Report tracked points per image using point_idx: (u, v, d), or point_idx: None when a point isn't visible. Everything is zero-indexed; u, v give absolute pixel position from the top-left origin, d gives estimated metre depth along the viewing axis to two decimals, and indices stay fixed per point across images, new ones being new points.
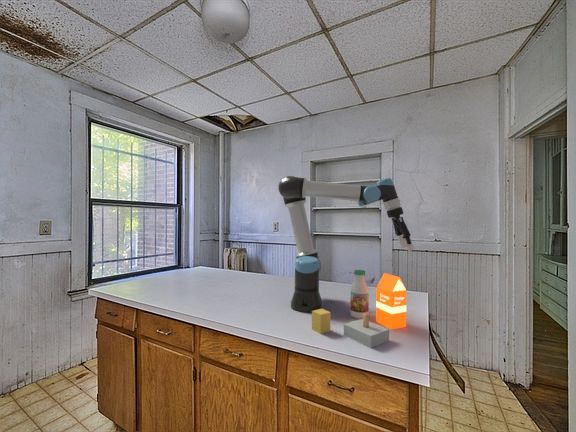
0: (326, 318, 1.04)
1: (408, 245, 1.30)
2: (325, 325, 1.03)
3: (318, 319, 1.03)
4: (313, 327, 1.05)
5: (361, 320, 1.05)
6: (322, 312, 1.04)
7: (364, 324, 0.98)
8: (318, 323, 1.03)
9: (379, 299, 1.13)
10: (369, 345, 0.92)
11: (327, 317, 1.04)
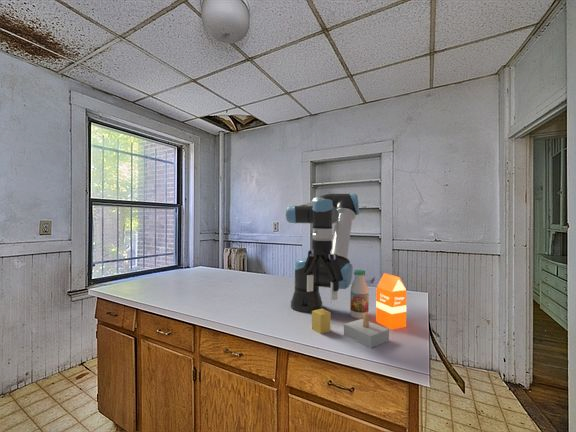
0: (326, 318, 1.04)
1: None
2: (325, 325, 1.03)
3: (318, 319, 1.03)
4: (313, 327, 1.05)
5: (361, 320, 1.05)
6: (322, 312, 1.04)
7: (364, 324, 0.98)
8: (318, 323, 1.03)
9: (379, 299, 1.13)
10: (369, 345, 0.92)
11: (327, 317, 1.04)
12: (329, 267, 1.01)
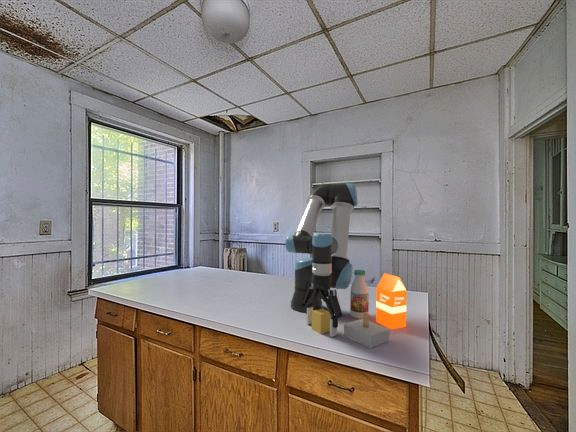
0: (326, 318, 1.04)
1: None
2: (325, 325, 1.03)
3: (318, 319, 1.03)
4: (313, 327, 1.05)
5: (361, 320, 1.05)
6: (322, 312, 1.04)
7: (364, 324, 0.98)
8: (318, 323, 1.03)
9: (379, 299, 1.13)
10: (369, 345, 0.92)
11: (327, 317, 1.04)
12: (329, 303, 1.01)
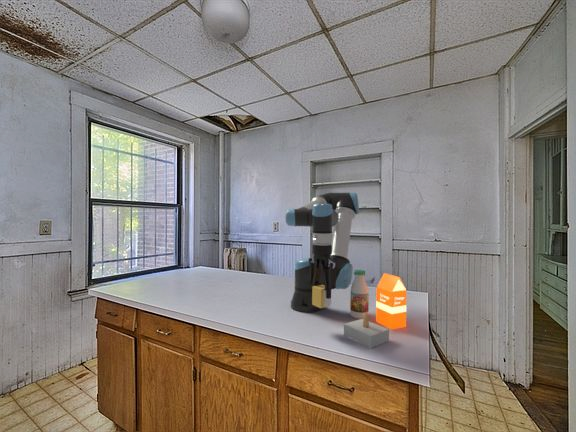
0: None
1: None
2: None
3: (318, 294, 1.03)
4: (313, 302, 1.06)
5: (361, 320, 1.05)
6: (322, 287, 1.05)
7: (364, 324, 0.98)
8: (318, 298, 1.03)
9: (379, 299, 1.13)
10: (369, 345, 0.92)
11: None
12: (326, 274, 1.03)
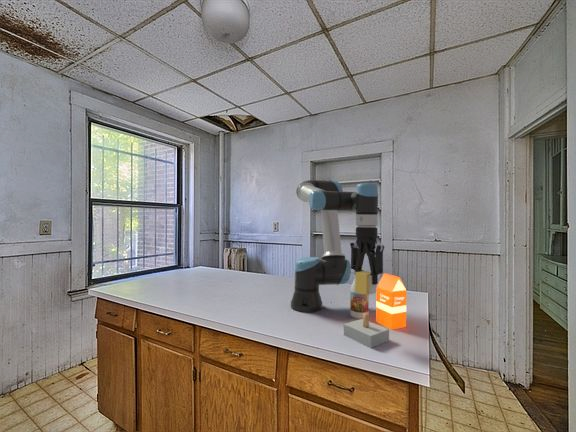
0: None
1: None
2: None
3: (363, 279, 0.96)
4: (357, 289, 0.99)
5: (361, 320, 1.05)
6: (367, 273, 0.98)
7: (364, 324, 0.98)
8: (363, 284, 0.96)
9: (379, 299, 1.13)
10: (369, 345, 0.92)
11: None
12: (372, 258, 0.96)
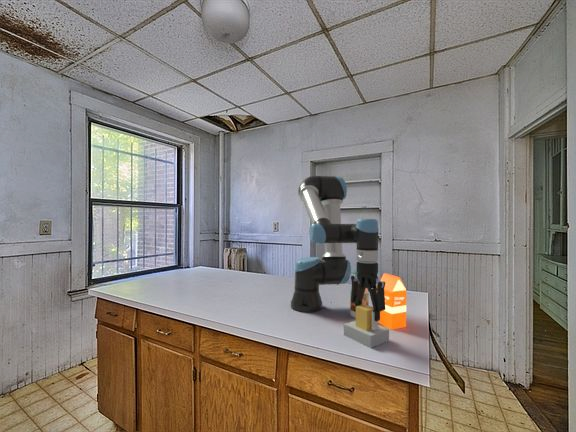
0: None
1: None
2: (371, 322, 0.97)
3: (364, 315, 0.96)
4: (357, 324, 0.98)
5: None
6: (367, 308, 0.98)
7: None
8: (364, 320, 0.96)
9: None
10: (369, 345, 0.92)
11: None
12: (373, 294, 0.96)
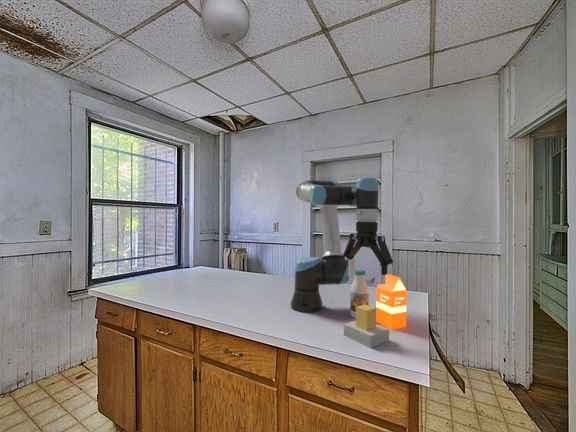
0: (372, 314, 0.97)
1: None
2: (371, 322, 0.97)
3: (364, 315, 0.96)
4: (357, 324, 0.98)
5: None
6: (367, 308, 0.98)
7: None
8: (364, 320, 0.96)
9: (379, 299, 1.13)
10: (369, 345, 0.92)
11: (373, 313, 0.97)
12: (376, 250, 0.95)
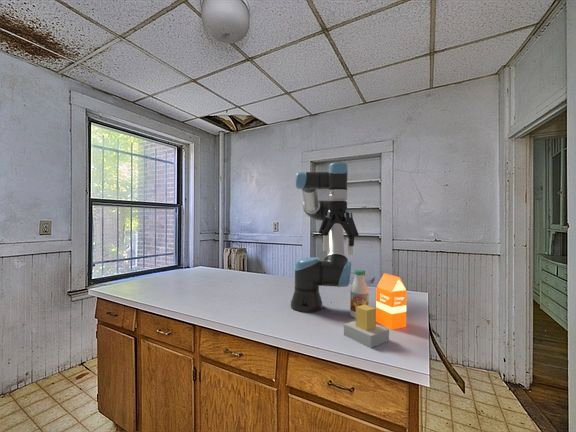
0: (372, 314, 0.97)
1: None
2: (371, 322, 0.97)
3: (364, 315, 0.96)
4: (357, 324, 0.98)
5: None
6: (367, 308, 0.98)
7: None
8: (364, 320, 0.96)
9: (379, 299, 1.13)
10: (369, 345, 0.92)
11: (373, 313, 0.97)
12: (345, 225, 1.08)
